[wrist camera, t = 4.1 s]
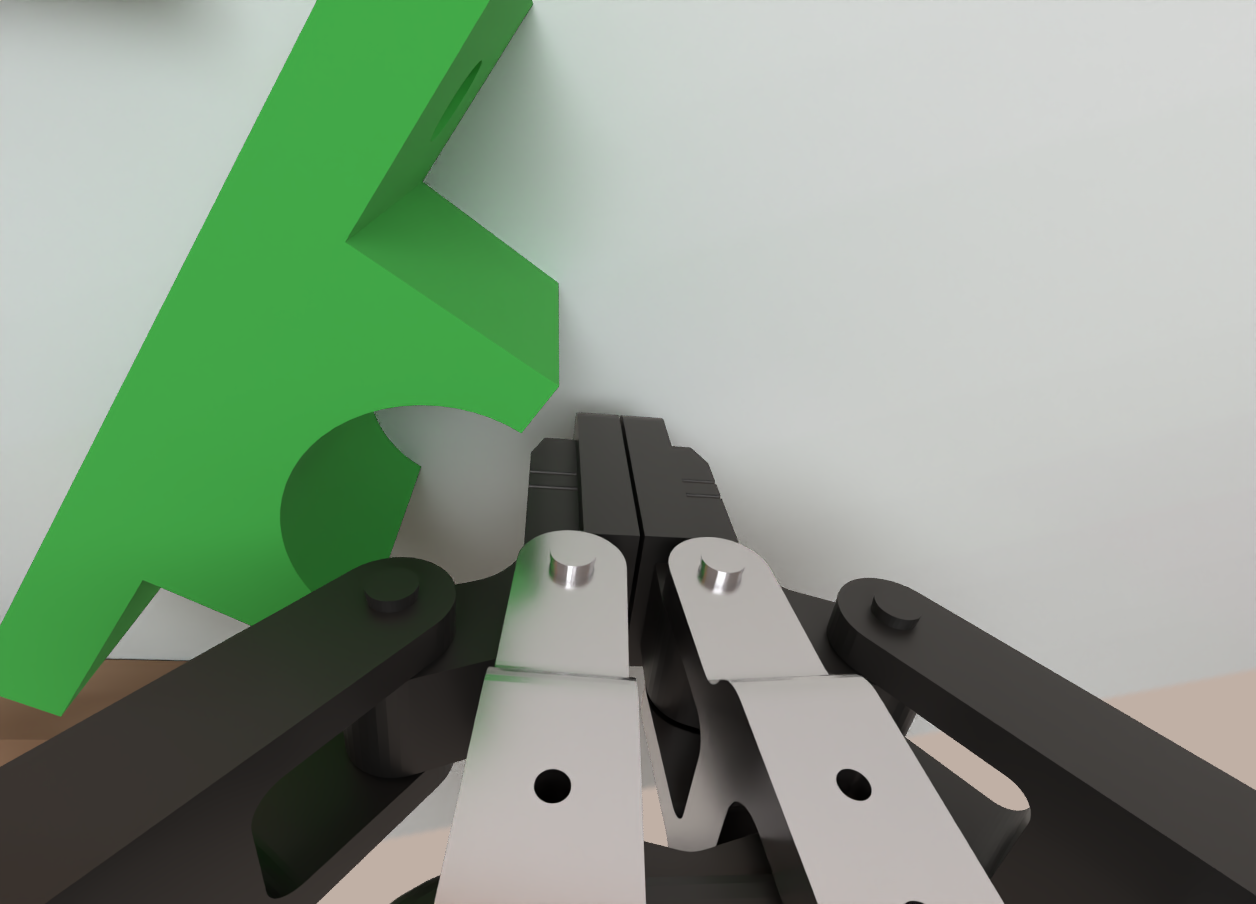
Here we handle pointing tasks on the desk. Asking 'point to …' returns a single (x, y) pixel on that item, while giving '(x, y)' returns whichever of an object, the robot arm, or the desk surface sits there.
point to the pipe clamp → (297, 350)
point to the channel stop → (74, 704)
